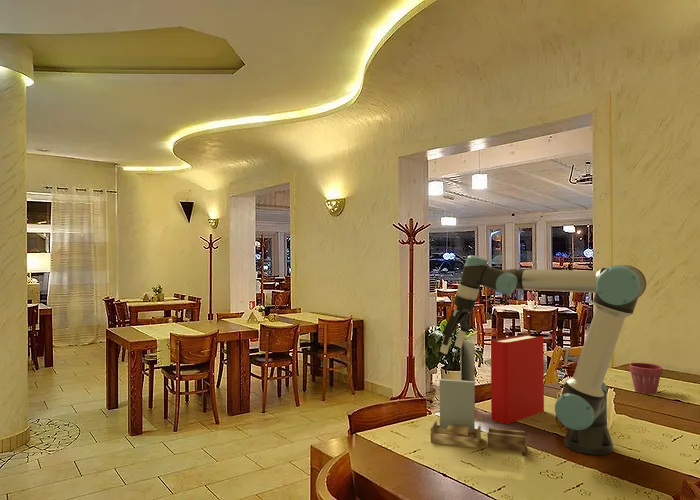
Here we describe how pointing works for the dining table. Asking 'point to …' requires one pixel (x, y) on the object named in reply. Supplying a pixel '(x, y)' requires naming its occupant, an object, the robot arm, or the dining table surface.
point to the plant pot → (645, 377)
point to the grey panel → (457, 403)
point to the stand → (507, 439)
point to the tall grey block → (468, 362)
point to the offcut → (458, 430)
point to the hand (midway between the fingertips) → (450, 349)
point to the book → (516, 378)
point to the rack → (454, 437)
